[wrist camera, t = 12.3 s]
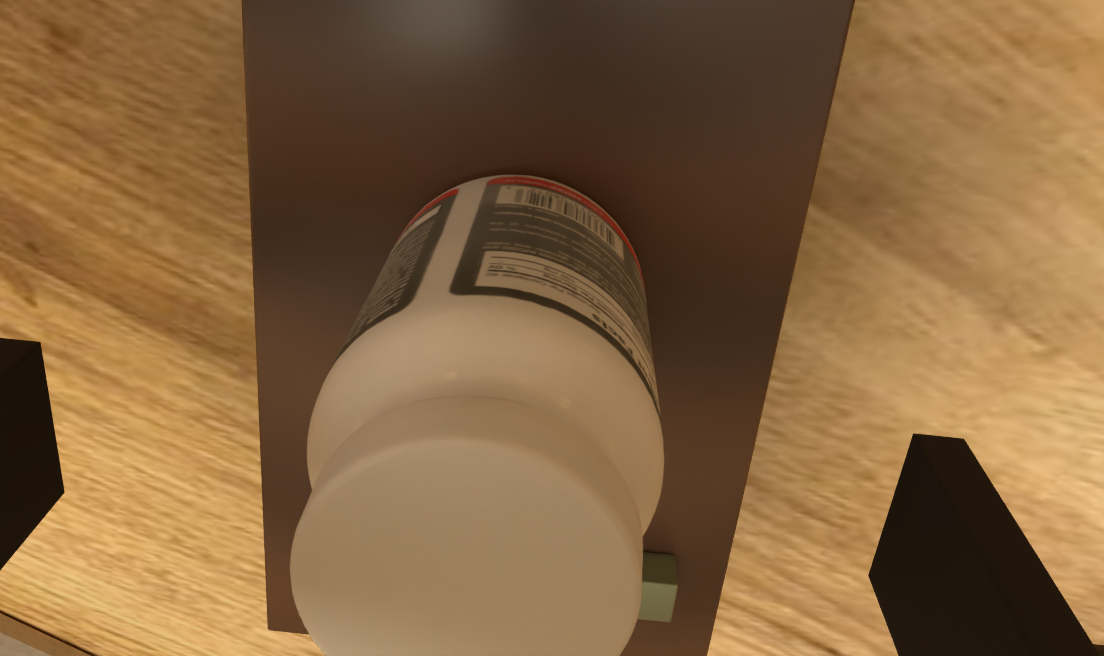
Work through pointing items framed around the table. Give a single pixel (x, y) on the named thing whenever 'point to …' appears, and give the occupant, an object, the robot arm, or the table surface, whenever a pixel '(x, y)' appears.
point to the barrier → (30, 641)
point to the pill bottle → (486, 438)
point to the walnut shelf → (562, 156)
